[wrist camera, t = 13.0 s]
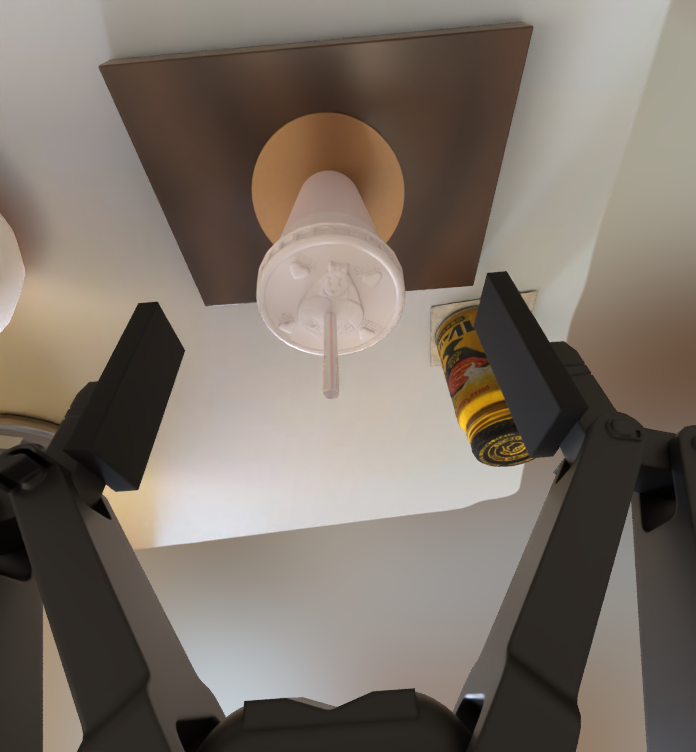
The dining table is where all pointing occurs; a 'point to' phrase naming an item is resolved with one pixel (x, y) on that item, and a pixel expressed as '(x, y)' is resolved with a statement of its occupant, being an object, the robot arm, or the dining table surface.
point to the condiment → (475, 384)
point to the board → (326, 143)
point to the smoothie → (330, 276)
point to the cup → (9, 273)
